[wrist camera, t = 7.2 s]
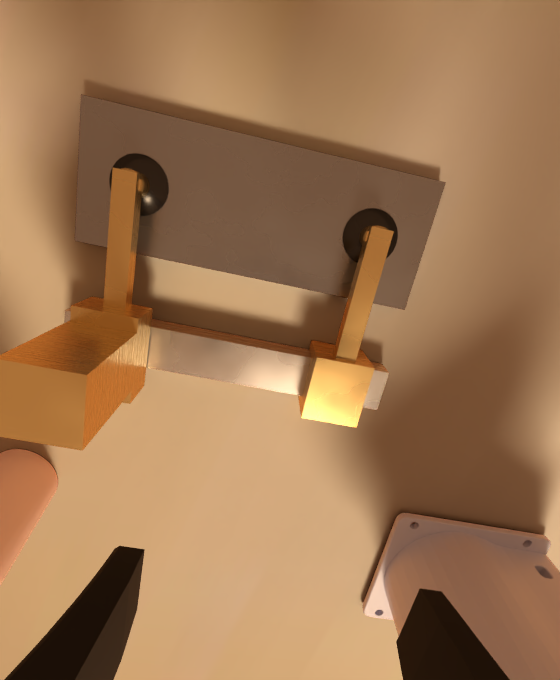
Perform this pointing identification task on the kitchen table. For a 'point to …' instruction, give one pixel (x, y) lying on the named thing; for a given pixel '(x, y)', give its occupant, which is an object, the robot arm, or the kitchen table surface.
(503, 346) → the kitchen table surface
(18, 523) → the smoothie
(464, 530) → the robot arm
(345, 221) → the flange plate
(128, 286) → the orange block with stem
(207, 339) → the dividers bar
